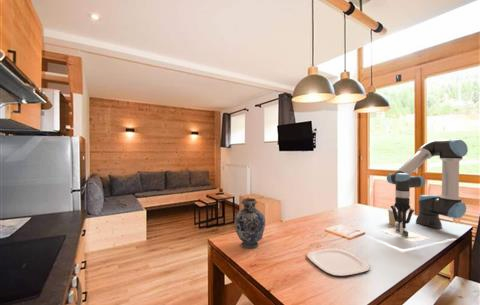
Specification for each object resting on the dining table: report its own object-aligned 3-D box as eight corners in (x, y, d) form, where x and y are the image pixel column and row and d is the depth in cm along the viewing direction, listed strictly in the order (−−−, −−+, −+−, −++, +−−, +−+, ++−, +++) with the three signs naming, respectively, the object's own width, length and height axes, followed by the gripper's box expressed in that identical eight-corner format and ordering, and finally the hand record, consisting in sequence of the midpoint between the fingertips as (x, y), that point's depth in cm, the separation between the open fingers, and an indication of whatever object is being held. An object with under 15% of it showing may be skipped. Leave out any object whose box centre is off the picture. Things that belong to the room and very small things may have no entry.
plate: (377, 272, 107) (377, 268, 107) (332, 281, 99) (332, 277, 99) (339, 249, 131) (339, 246, 131) (301, 255, 124) (301, 252, 124)
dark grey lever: (394, 229, 157) (394, 221, 157) (402, 229, 156) (402, 222, 156) (402, 236, 145) (402, 227, 145) (411, 236, 143) (411, 228, 143)
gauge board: (396, 229, 162) (396, 226, 162) (431, 240, 141) (431, 238, 141) (377, 232, 156) (377, 230, 156) (411, 245, 135) (411, 242, 135)
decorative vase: (268, 252, 127) (267, 203, 126) (236, 254, 125) (234, 204, 125) (262, 237, 148) (261, 195, 148) (234, 239, 147) (233, 196, 146)
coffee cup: (401, 229, 162) (401, 212, 162) (386, 225, 169) (386, 210, 169) (404, 226, 168) (404, 210, 168) (390, 223, 175) (390, 207, 175)
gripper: (388, 195, 149) (388, 231, 150) (411, 199, 138) (411, 237, 139) (393, 194, 153) (393, 228, 154) (416, 198, 143) (416, 234, 143)
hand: (401, 232), depth 146 cm, fingers closed
